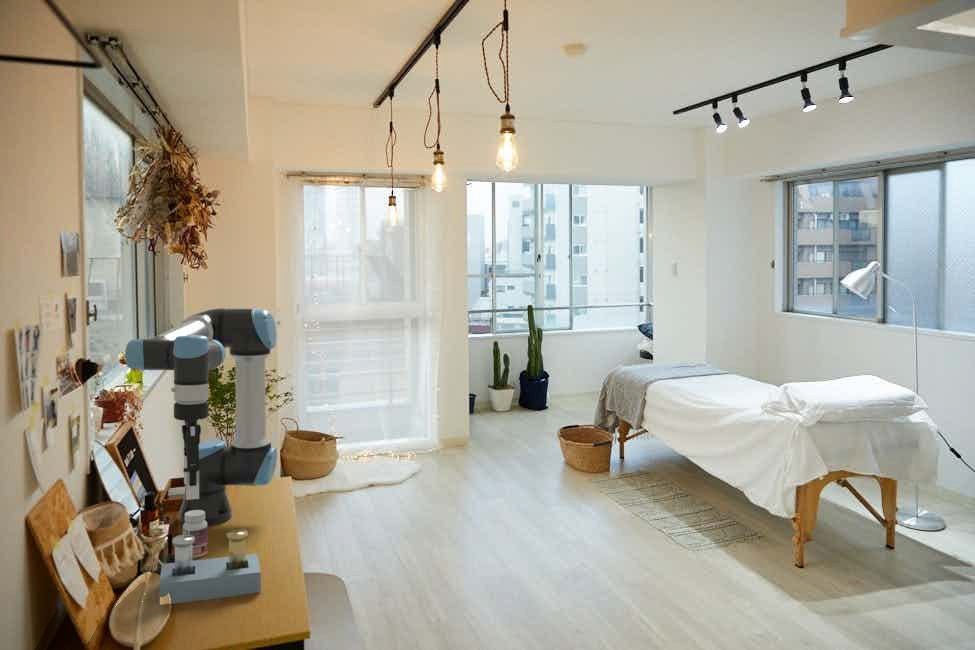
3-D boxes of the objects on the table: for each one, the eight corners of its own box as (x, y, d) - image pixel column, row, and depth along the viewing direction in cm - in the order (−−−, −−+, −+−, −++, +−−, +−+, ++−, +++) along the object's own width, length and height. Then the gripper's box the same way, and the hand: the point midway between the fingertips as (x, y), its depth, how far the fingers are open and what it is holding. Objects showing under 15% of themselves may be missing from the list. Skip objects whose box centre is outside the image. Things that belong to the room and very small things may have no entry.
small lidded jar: (173, 570, 174) (172, 535, 173) (194, 568, 175) (194, 533, 175) (172, 578, 169) (172, 542, 169) (194, 575, 171) (194, 540, 170)
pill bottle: (212, 551, 198) (212, 510, 197) (198, 559, 192) (198, 517, 191) (192, 548, 199) (192, 508, 198) (177, 557, 193) (177, 515, 192)
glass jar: (226, 564, 178) (226, 530, 177) (247, 562, 180) (247, 528, 179) (227, 572, 174) (227, 537, 173) (248, 569, 175) (248, 535, 175)
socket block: (162, 584, 176) (161, 564, 176) (257, 572, 184) (257, 553, 184) (159, 605, 165) (159, 584, 165) (260, 592, 173) (260, 572, 173)
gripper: (172, 393, 180) (172, 478, 181) (175, 411, 157) (175, 508, 159) (205, 392, 183) (205, 475, 185) (212, 409, 161) (212, 504, 162)
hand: (191, 490), depth 172 cm, fingers open, 13 cm apart
